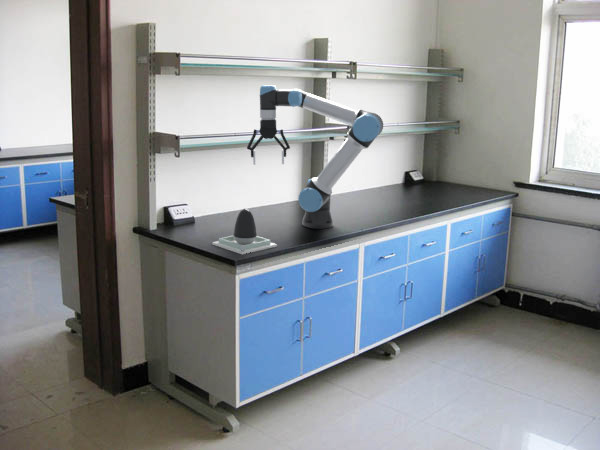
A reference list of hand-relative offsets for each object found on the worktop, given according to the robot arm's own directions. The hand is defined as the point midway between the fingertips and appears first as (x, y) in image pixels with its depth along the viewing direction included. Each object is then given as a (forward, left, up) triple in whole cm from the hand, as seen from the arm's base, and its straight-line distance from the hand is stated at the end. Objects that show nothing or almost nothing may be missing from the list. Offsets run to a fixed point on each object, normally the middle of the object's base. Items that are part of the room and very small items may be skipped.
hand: (268, 164), depth 315 cm
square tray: (+12, +33, -31) cm, 47 cm away
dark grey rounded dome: (+12, +33, -30) cm, 46 cm away
